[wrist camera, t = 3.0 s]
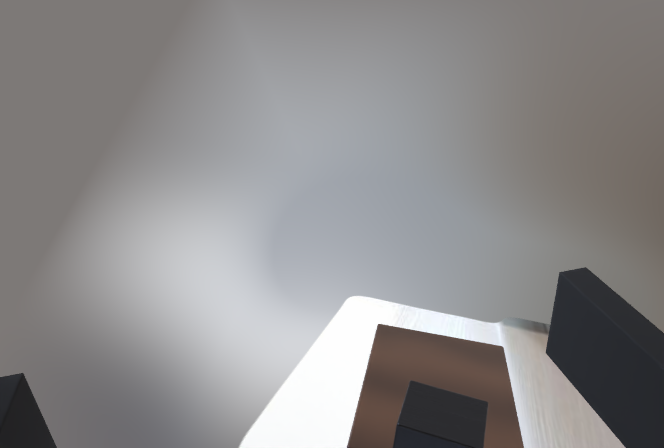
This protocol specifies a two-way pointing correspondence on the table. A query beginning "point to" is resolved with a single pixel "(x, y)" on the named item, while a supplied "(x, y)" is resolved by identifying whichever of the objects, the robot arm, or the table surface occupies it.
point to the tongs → (440, 419)
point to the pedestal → (432, 384)
